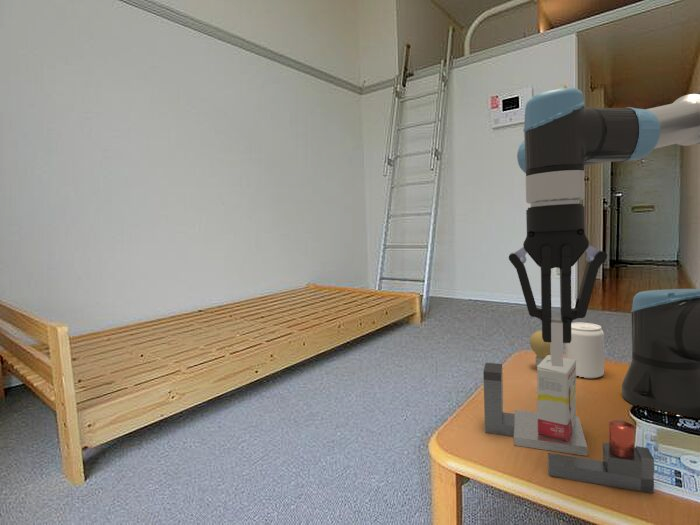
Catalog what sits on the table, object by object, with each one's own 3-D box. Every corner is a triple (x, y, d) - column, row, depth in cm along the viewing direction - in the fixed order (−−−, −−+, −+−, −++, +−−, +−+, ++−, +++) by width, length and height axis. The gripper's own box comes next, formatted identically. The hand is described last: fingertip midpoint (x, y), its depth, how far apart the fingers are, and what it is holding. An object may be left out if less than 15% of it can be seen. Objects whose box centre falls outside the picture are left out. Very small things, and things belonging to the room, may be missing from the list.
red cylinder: (634, 462, 60) (634, 420, 59) (641, 478, 56) (642, 433, 56) (602, 457, 62) (602, 417, 61) (607, 473, 58) (608, 429, 57)
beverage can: (564, 366, 106) (563, 321, 105) (600, 369, 103) (600, 322, 102) (567, 378, 98) (567, 329, 97) (606, 381, 95) (606, 330, 94)
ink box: (568, 442, 68) (567, 372, 67) (536, 434, 71) (535, 367, 70) (577, 421, 74) (577, 358, 73) (547, 414, 77) (547, 353, 76)
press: (578, 424, 76) (578, 364, 75) (587, 456, 66) (587, 387, 65) (488, 413, 82) (486, 357, 81) (483, 440, 72) (482, 377, 71)
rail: (647, 480, 59) (647, 447, 59) (653, 493, 56) (654, 458, 56) (547, 464, 64) (547, 434, 64) (549, 475, 61) (548, 444, 61)
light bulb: (557, 366, 106) (557, 328, 105) (557, 374, 101) (557, 335, 100) (531, 363, 109) (530, 327, 108) (529, 371, 104) (528, 333, 103)
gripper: (602, 201, 60) (602, 358, 62) (506, 207, 65) (510, 352, 67) (612, 199, 53) (613, 376, 55) (505, 206, 58) (509, 368, 60)
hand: (556, 363), depth 61 cm, fingers closed
